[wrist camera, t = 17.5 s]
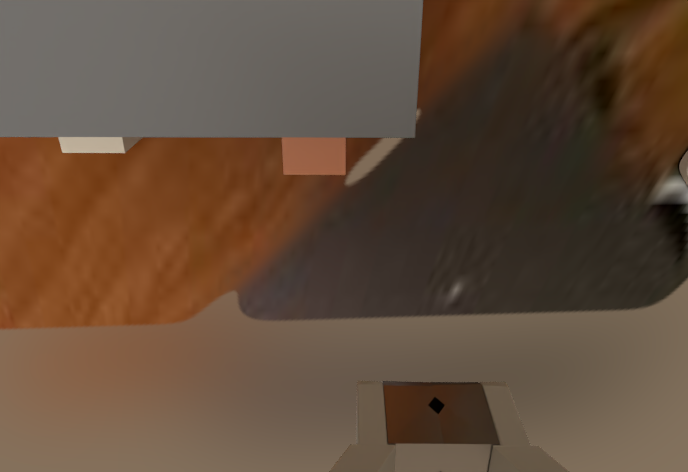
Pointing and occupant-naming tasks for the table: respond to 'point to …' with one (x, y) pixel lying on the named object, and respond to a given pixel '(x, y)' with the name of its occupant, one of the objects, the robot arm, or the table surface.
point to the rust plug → (314, 156)
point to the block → (209, 68)
